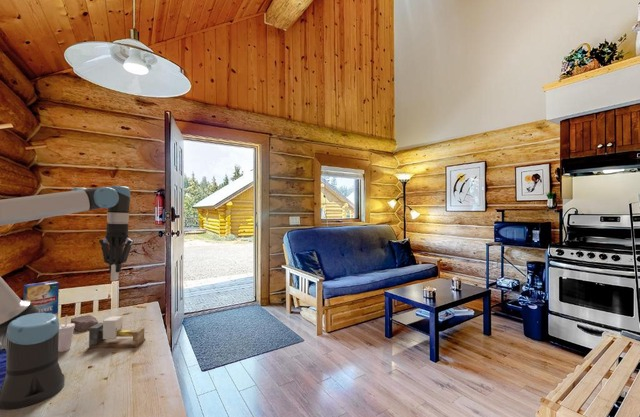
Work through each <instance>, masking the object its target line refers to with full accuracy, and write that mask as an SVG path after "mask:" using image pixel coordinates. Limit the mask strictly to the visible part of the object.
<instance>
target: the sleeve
mask: <svg viewBox="0 0 640 417" xmlns="http://www.w3.org/2000/svg"><path fill="white" fill-rule="evenodd" d="M102 323H103V339H118V337H117V331H118V330H123V316H121V315H120V316H119V315H118V316H108V317H107V318H105V319H104V320H103V321H102Z"/></svg>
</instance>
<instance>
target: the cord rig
mask: <svg viewBox="0 0 640 417" xmlns="http://www.w3.org/2000/svg"><path fill="white" fill-rule="evenodd" d="M88 330H89V333H88V336H89V337H88V348H89V349H95V348H96V349H98V348H99V349H100V348H101V349H103V348H105V349H107V348H108V349H109V348H110V349H113V348H119V349H120V348H121V349H122V348H125V349H126V348H129V349H130V348H138V347H139V346H140V345H141V344H143V343H144V342H145V341H146V338H145V327H143V326H142V327H138V328H137V329H122V330H118V331H117V338H116V339H103V322H98V324H96V325H94V326H92V327H91V328H89V329H88ZM119 337H120V338H119ZM123 337H124V338H123ZM125 337H126V338H125ZM131 337H132V338H131Z"/></svg>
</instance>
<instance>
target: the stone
mask: <svg viewBox="0 0 640 417" xmlns="http://www.w3.org/2000/svg"><path fill="white" fill-rule="evenodd" d="M69 323H74V324H75V327H74V330H76V331H78V332H80V333H81V332H85V331H88V330H89V328H91V327H92V326H94V325H96V324H98V323H99V320H98V318H96V317H94V316H93V315H91V314H86V315H81V316H76V317H73V318H70V322H69Z"/></svg>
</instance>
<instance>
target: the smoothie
mask: <svg viewBox="0 0 640 417" xmlns="http://www.w3.org/2000/svg"><path fill="white" fill-rule="evenodd" d="M64 320H65V323H61V324H60V325H59V326H60V327H59V341H58V353H59V352H67V351H69V350H71V347H72V341H73V335H74V330H75V329H74V327H75V324H74V323H70V322H68V314H66V315H65V318H64Z"/></svg>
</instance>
